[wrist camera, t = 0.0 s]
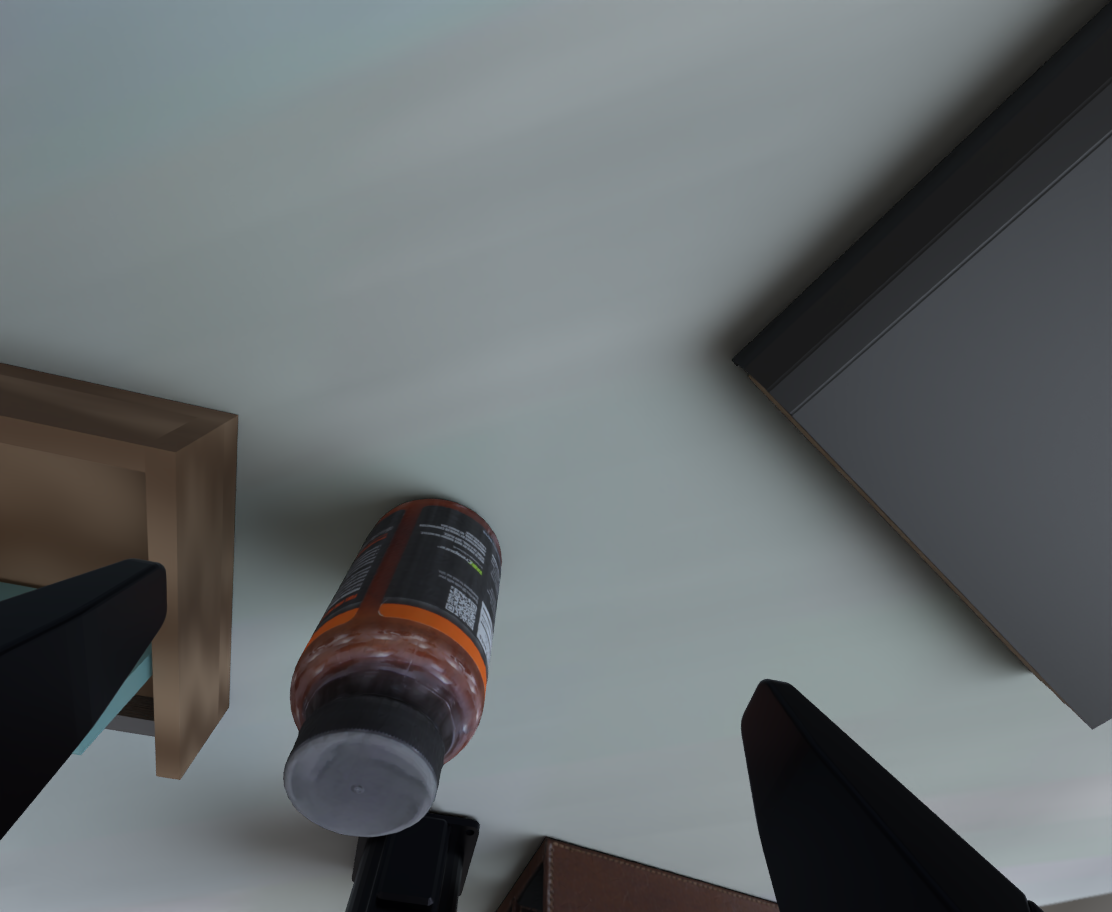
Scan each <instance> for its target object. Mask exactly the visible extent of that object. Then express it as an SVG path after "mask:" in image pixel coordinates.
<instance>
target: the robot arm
mask: <svg viewBox="0 0 1112 912" xmlns="http://www.w3.org/2000/svg"><path fill="white" fill-rule="evenodd" d="M166 614H167V578H166V569H165V567H164V566H163V565H162V564H160V563H158V562H153V561H147V560H142V559H136V558H130V559H126V560H123V561H120V562H117V563H114V564H111V565H108V566H105V567H102V568H99V569H96V570H93V571H90V572H87V573H84V574H81V575H78V576H75V577H71V578H68V579H65V580H62V581H59V582H56V583H53V584H50V585H47V586H44V587H41V588H38V589H35V590H32V591H29V592H26V593H23V594H20V595H17V596H14V597H11V598H8V599H5V600H2V601H0V840H1V839H2V838H3V837H4V835H5V834H6V833H7V832H8V831H9V829H10V828H11V827H12V826H13V824H14V823H15V822H16V821H17V820H18V818H19V817H20V816H21V815H22V814H23V812H24V811H25V810H26V809H27V807H28V806H29V805H30V804H31V803H32V801H33V800H34V799H35V798H36V797H37V795H38V794H39V793H40V792H41V791H42V789H43V788H44V787H45V786H46V784H47V783H48V782H49V781H50V780H51V778H52V777H53V776H54V775H55V774H56V772H57V771H58V770H59V769H60V767H61V766H62V765H63V764H64V763H65V761H66V760H67V759H68V758H69V757H70V755H71V754H72V753H73V752H74V751H75V749H76V748H77V747H78V746H79V744H80V743H81V742H82V741H83V739H84V738H85V737H86V736H87V734H88V733H89V732H90V730H91V729H92V728H93V727H94V725H95V724H96V722H97V721H98V720H99V718H100V717H101V715H102V714H103V713H104V711H105V710H106V708H107V707H108V705H109V704H110V702H111V701H112V699H113V698H114V696H115V695H116V694H117V692H118V691H119V689H120V688H121V686H122V685H123V683H124V682H125V680H126V679H127V677H128V676H129V674H130V673H131V671H132V670H133V668H134V667H135V665H136V664H137V662H138V661H139V659H140V658H141V657H142V655H143V654H144V652H145V651H146V649H147V648H148V646H149V645H150V643H151V642H152V640H153V639H154V637H155V636H156V634H157V633H158V631H159V630H160V628H161V627H162V625H163V623H164V620H165V618H166ZM741 734H742V740H743V745H744V751H745V757H746V763H747V769H748V775H749V781H750V786H751V792H752V798H753V804H754V810H755V816H756V821H757V826H758V831H759V835H760V839H761V843H762V848H763V852H764V855H765V859H766V863H767V867H768V870H769V874H770V878H771V881H772V885H773V889H774V893H775V896H776V900H777V904H778V907H779V911H780V912H1044V911H1042V909H1041V908H1039V907H1038V906H1037V905H1036V904H1035V903H1034V902H1032V901H1030V900H1027V898H1026V896H1025V894H1024V893H1023V892H1021V891H1020V890H1019V889H1018V888H1017V887H1016V886H1015V885H1014V884H1013V883H1011V882H1010V881H1009V880H1008V879H1007V878H1006V877H1005V876H1004V875H1003V874H1001V873H1000V872H999V871H998V870H997V869H996V868H995V867H994V866H993V865H991V864H990V863H989V862H988V861H987V860H986V859H985V858H984V857H983V856H981V855H980V854H979V853H978V852H977V851H976V850H975V849H974V848H973V847H971V846H970V845H969V844H968V843H967V842H966V841H965V840H964V839H962V838H961V837H960V836H959V835H958V834H957V833H956V832H955V831H954V830H952V829H951V828H950V827H949V826H948V825H947V824H946V823H945V822H944V821H942V820H941V819H940V818H939V817H938V816H937V815H936V814H935V813H934V812H932V811H931V810H930V809H929V808H928V807H927V806H926V805H925V804H924V803H922V802H921V801H920V800H919V799H918V798H917V797H916V796H915V795H914V794H912V793H911V792H910V791H909V790H908V789H907V788H906V787H905V786H904V785H902V784H901V783H900V782H899V781H898V780H897V779H896V778H895V777H893V776H892V775H891V774H890V773H889V772H888V771H887V770H886V769H885V768H883V767H882V766H881V765H880V764H879V763H878V762H877V761H876V760H875V759H873V758H872V757H871V756H870V755H869V754H868V753H867V752H866V751H865V750H863V749H862V748H861V747H860V746H859V745H858V744H857V743H856V742H855V741H853V740H852V739H851V738H850V737H849V736H848V735H847V734H846V733H845V732H843V731H842V730H841V729H840V728H839V727H838V726H837V725H836V724H835V723H833V722H832V721H831V720H830V719H829V718H828V717H827V716H826V715H825V714H823V713H822V712H821V711H820V710H819V709H818V708H817V707H816V706H815V705H813V704H812V703H811V702H810V701H809V700H808V699H807V698H806V697H805V696H803V695H802V694H801V693H800V692H799V691H798V690H797V689H796V688H795V687H793V686H792V685H791V684H789V683H786V682H782V681H777V680H771V679H764V680H762V681H761V682H760V683H759V684H758V686H757V688H756V690H755V692H754V694H753V696H752V698H751V700H750V702H749V704H748V706H747V708H746V710H745V712H744V714H743V717H742V721H741ZM479 828H480V824H479V823H478V822H477V821H475V820H471V819H465V818H459V817H452V816H446V815H439V814H433V813H426V814H425V815H424V817H423V818H422V819H420V821H419V822H417V823H415V824H414V825H412V826H410V827H408V828H406V829H404V830H402V831H399V832H397V833H392V834H388V835H383V836H376V837H360V836H359V839H358V845H357V851H356V857H355V862H354V868H353V874H352V881H353V882H354V884H353V888H352V891H351V894H350V898H349V901H348V904H347V908H346V911H345V912H457V904H458V897H459V896H460V895H461V893H462V890H463V887H464V883H465V880H466V876H467V873H468V869H469V866H470V863H471V859H472V856H473V852H474V849H475V845H476V842H477V839H478V835H479Z"/></svg>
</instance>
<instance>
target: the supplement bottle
mask: <svg viewBox="0 0 1112 912" xmlns="http://www.w3.org/2000/svg"><path fill="white" fill-rule="evenodd" d="M501 564H502V558H501V551H500V546H499V542H498V540H497V537H496V535H495V533H494V532H493V531H492V529H491V528H490V526H489V525H488V524H487V523H486V522H485V520H484V519H483V518H481V517H480V516H479V515H478V514H477V513H475V512H474V511H472V510H471V509H469V508H467V507H465V506H463V505H460V504H458V503H456V502H452V501H448V500H443V499H420V500H414V501H410V502H406V503H403V504H401V505H399V506H397V507H395V508H394V509H392V510H391V511H389V512H388V513H387V514H385V515H384V516H383V517H382V518H381V519H380V520H379V521H378V523H377V524H376V526H375V527H374V529H373V530H372V531H371V533H370V534H369V536H368V537H367V539H366V541H365V543H364V544H363V546H362V548H361V550H360V551H359V553H358V555H357V557H356V559H355V560H354V562H353V564H352V566H351V567H350V569H349V571H348V573H347V575H346V576H345V578H344V580H343V582H342V583H341V585H340V587H339V589H338V591H337V592H336V594H335V596H334V598H333V599H332V601H331V603H330V605H329V606H328V608H327V610H326V612H325V614H324V616H323V617H322V619H321V621H320V623H319V624H318V626H317V628H316V630H315V632H314V633H313V635H312V637H311V639H310V641H309V642H308V644H307V646H306V648H305V650H304V651H303V653H302V655H301V657H300V659H299V661H298V663H297V665H296V667H295V671H294V674H293V677H292V682H291V688H290V704H291V712H292V715H293V718H294V722H295V724H296V726H297V728H298V730H299V734H298V738H297V740H296V742H295V745H294V747H293V749H292V751H291V753H290V755H289V757H288V759H287V762H286V764H285V769H284V777H283V780H284V787H285V790H286V793H287V795H288V798H289V799H290V800H291V802H292V804H293V806H294V807H295V808H296V809H297V810H298V811H299V812H300V813H301V814H302V815H304V816H305V817H306V818H307V819H309V820H310V821H312V822H314V823H315V824H317V825H319V826H321V827H323V828H325V829H327V830H330V831H333V832H336V833H339V834H343V835H349V836H360V837H376V836H383V835H388V834H392V833H397V832H399V831H402V830H404V829H406V828H408V827H410V826H412V825H414V824H415V823H417V822H419V821H420V819H422V818H423V817H424V815H425V814H426V813H427V812H428V810H429V809H430V807H431V806H432V804H433V802H434V801H435V797H436V792H437V789H438V785H439V778H440V773H441V769H442V767H443V765H444V764H445V763H447V762H448V761H450V760H451V759H452V758H454V757H455V756H456V755H457V754H458V753H459V752H460V751H461V750H462V749H463V748H464V747H465V746H466V745H467V744H468V742H469V741H470V739H471V738H472V737H473V735H474V734H475V731H476V729H477V727H478V725H479V723H480V719H481V715H482V712H483V707H484V701H485V691H486V684H487V679H488V670H489V662H490V655H491V646H492V639H493V632H494V623H495V615H496V608H497V600H498V593H499V584H500V577H501Z"/></svg>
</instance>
